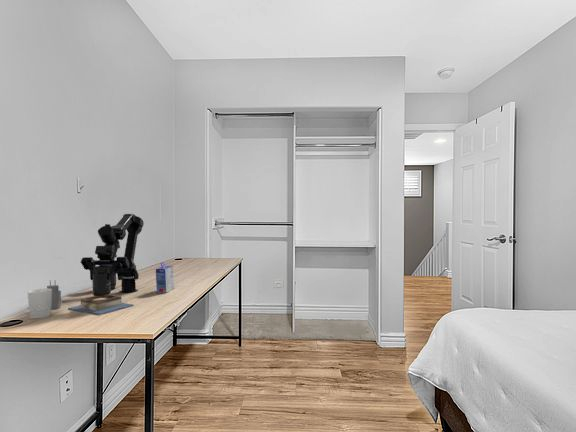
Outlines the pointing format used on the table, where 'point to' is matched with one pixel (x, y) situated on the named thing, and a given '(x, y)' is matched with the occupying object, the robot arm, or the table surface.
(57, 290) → the power adapter
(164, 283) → the ink cartridge box
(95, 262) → the robot arm
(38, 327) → the table surface
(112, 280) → the camera lens
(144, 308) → the table surface
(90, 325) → the table surface
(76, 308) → the board
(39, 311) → the white cup
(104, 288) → the supplement bottle
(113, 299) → the foundation socket
